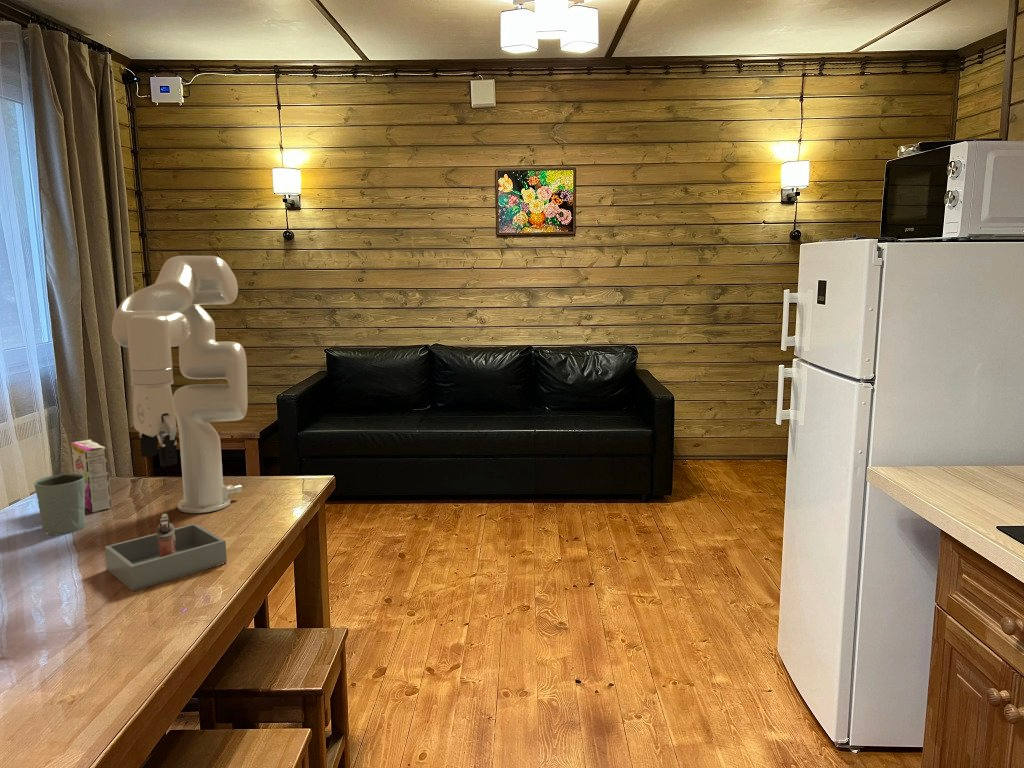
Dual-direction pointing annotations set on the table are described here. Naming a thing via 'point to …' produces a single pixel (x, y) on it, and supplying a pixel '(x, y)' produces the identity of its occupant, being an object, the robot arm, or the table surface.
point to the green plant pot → (61, 503)
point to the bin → (164, 557)
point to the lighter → (166, 536)
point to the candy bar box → (92, 473)
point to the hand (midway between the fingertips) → (159, 460)
